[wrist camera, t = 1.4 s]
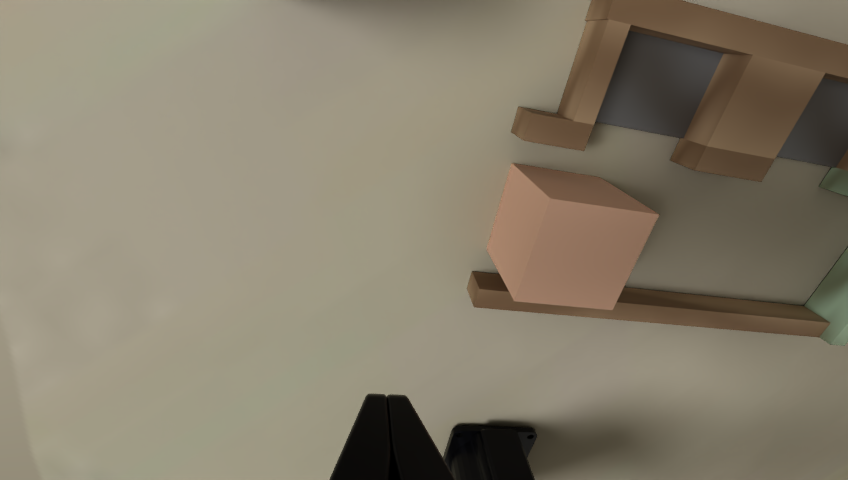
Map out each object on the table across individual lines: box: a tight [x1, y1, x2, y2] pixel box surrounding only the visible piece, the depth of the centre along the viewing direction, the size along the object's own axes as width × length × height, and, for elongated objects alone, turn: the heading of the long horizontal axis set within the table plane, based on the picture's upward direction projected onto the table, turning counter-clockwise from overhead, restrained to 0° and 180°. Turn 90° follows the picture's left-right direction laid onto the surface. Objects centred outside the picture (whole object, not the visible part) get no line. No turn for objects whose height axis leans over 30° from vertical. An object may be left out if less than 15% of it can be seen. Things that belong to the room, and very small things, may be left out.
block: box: [487, 163, 659, 310], centre depth 19 cm, size 5×5×5 cm
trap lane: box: [467, 0, 848, 346], centre depth 21 cm, size 16×25×2 cm, turn 79°
